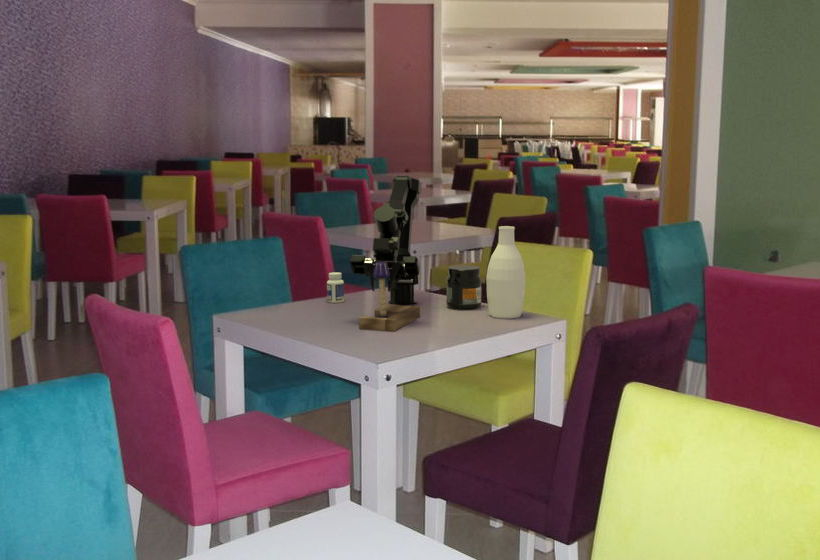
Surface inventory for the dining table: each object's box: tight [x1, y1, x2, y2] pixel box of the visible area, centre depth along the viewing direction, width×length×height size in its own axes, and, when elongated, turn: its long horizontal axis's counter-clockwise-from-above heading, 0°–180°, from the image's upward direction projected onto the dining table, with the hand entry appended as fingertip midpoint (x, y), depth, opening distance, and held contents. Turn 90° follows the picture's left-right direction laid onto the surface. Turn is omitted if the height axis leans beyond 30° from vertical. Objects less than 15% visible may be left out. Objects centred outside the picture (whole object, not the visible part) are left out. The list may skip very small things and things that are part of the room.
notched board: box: [358, 303, 421, 332], centre depth 255 cm, size 10×20×3 cm, turn 160°
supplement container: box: [446, 264, 483, 311], centre depth 276 cm, size 10×10×12 cm
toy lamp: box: [373, 261, 390, 318], centre depth 251 cm, size 5×5×17 cm
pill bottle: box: [326, 271, 345, 304], centre depth 286 cm, size 5×5×9 cm
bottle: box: [485, 225, 527, 319], centre depth 262 cm, size 11×11×25 cm
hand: (380, 290), depth 249 cm, fingers closed on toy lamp, 4 cm apart
